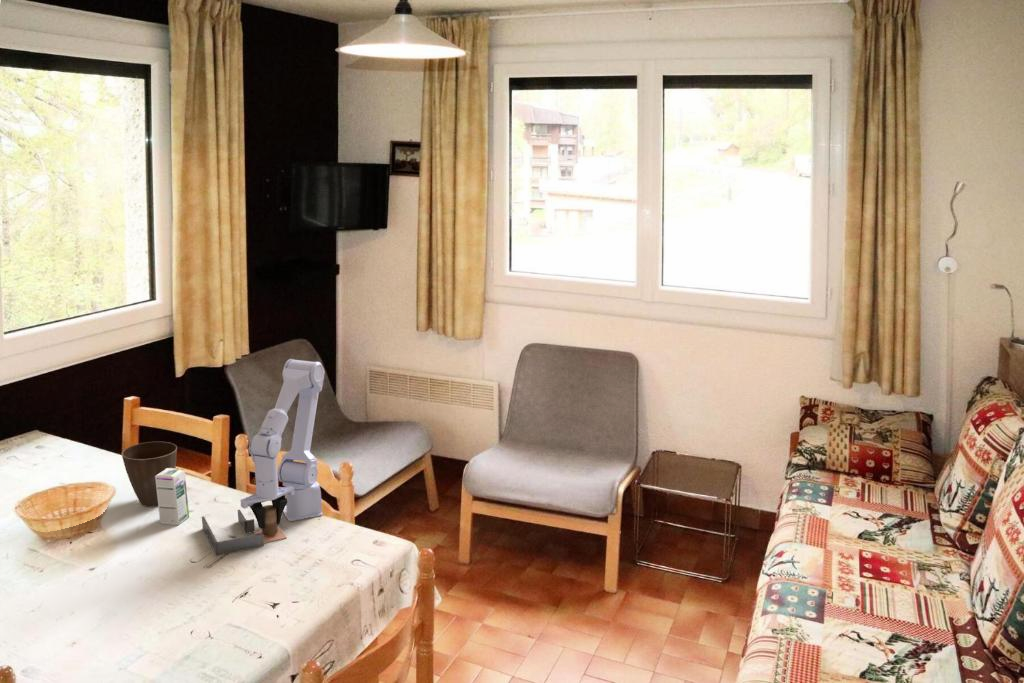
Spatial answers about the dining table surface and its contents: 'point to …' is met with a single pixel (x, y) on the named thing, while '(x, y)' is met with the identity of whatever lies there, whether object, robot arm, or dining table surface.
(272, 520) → the walnut peg
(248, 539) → the rail channel
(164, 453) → the plant pot
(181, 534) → the dining table surface
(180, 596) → the dining table surface
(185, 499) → the syrup box
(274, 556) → the dining table surface
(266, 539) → the coaster
